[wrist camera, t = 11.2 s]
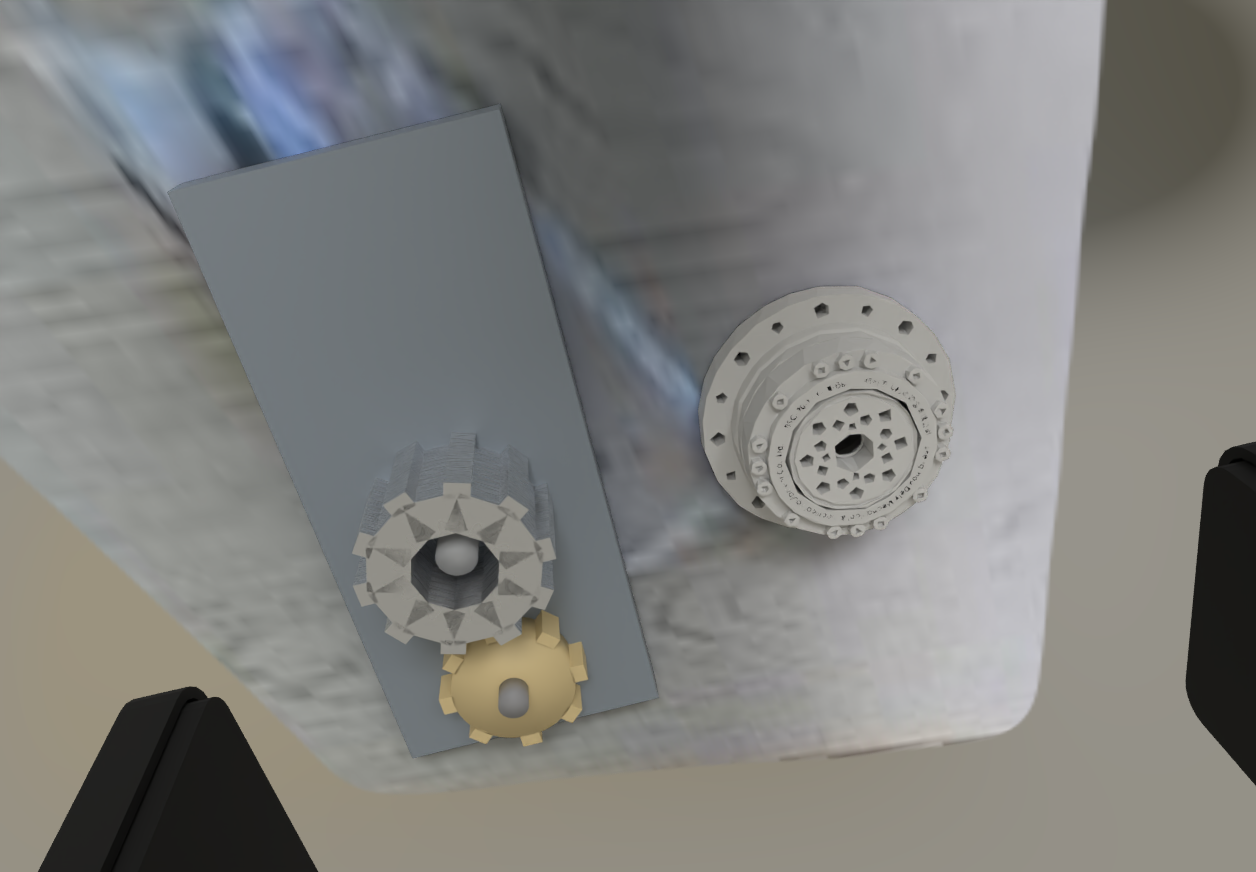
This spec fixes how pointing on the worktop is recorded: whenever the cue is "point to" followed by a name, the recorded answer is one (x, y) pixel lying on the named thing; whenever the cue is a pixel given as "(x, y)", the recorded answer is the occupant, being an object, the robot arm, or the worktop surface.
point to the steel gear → (464, 504)
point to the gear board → (424, 397)
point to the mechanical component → (828, 411)
